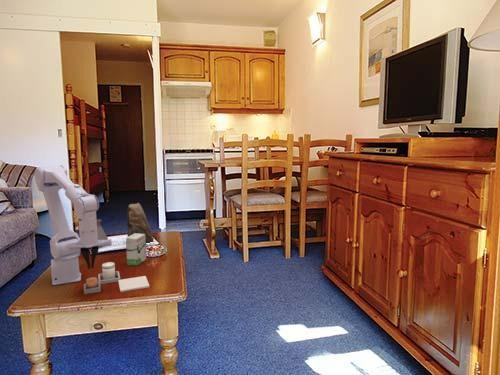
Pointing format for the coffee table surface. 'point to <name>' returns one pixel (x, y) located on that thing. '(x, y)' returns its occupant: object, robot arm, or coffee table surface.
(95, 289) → the dock
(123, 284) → the mat
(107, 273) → the cartridge
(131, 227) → the brown tapered rock
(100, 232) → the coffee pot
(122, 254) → the coffee table surface
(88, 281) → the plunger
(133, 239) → the ink box
